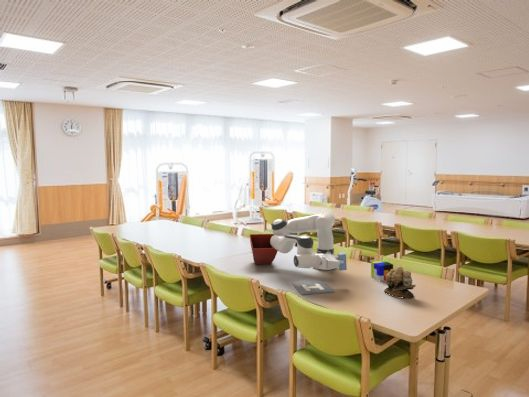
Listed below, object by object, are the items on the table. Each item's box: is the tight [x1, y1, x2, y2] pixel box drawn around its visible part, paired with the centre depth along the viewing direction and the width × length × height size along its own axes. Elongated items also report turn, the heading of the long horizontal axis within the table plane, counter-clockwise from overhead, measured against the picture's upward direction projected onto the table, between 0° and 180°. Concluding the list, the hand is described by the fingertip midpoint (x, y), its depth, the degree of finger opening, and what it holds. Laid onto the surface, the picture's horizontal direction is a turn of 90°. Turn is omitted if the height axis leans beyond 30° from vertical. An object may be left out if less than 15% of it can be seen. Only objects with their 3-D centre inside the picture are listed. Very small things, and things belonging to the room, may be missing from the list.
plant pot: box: [249, 233, 278, 265], centre depth 293 cm, size 19×19×17 cm
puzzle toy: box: [370, 260, 394, 281], centre depth 255 cm, size 10×10×10 cm
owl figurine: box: [383, 265, 417, 299], centre depth 225 cm, size 18×12×17 cm, turn 46°
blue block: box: [337, 252, 348, 271], centre depth 242 cm, size 4×4×10 cm
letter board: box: [292, 280, 335, 296], centre depth 238 cm, size 20×20×1 cm
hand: (342, 260), depth 242 cm, fingers closed on blue block, 4 cm apart
